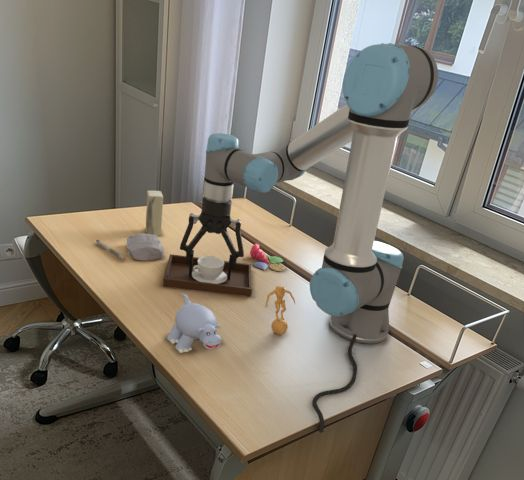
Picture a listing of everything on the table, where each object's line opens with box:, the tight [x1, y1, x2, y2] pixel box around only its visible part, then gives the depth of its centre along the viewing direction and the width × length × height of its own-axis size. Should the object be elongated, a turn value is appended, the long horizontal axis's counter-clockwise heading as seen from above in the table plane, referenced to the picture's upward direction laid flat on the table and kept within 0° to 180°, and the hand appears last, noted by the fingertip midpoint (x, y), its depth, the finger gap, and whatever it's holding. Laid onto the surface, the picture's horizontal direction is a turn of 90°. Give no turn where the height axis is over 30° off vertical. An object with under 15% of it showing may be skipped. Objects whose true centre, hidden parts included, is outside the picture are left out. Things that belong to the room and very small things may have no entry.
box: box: [145, 190, 164, 236], centre depth 170 cm, size 5×4×13 cm
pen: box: [95, 239, 125, 260], centre depth 157 cm, size 1×14×1 cm, turn 47°
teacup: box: [192, 255, 227, 284], centre depth 152 cm, size 10×10×5 cm
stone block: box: [126, 232, 164, 262], centre depth 160 cm, size 12×5×10 cm
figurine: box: [264, 285, 296, 335], centre depth 132 cm, size 8×6×12 cm
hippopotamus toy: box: [166, 293, 222, 354], centre depth 123 cm, size 11×15×10 cm
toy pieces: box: [249, 243, 286, 272], centre depth 166 cm, size 12×11×4 cm
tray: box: [162, 253, 253, 298], centre depth 153 cm, size 16×24×2 cm, turn 92°
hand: (209, 275), depth 153 cm, fingers closed on teacup, 10 cm apart
